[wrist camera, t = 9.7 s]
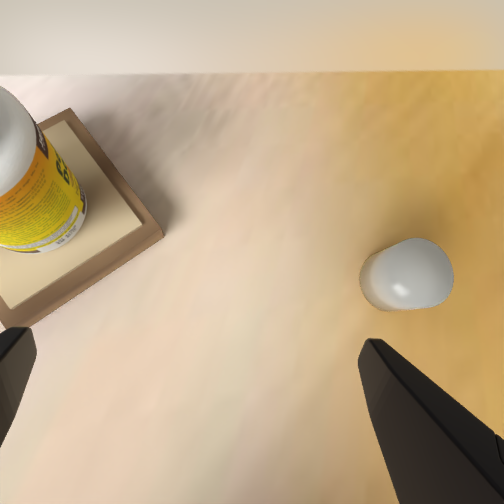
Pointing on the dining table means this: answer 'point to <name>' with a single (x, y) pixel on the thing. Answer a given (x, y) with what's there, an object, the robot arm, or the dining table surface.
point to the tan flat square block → (85, 240)
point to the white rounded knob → (407, 276)
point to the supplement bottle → (34, 186)
